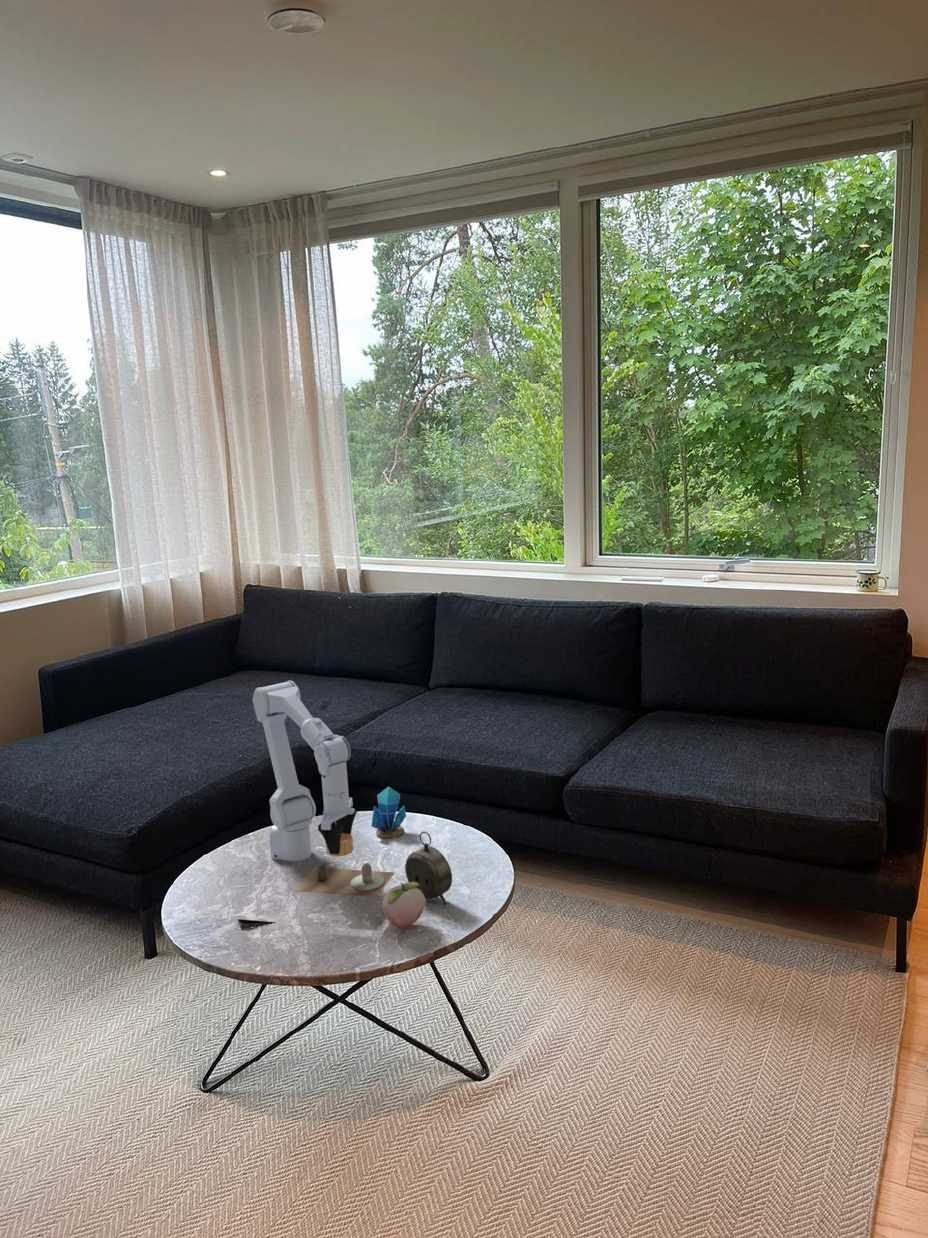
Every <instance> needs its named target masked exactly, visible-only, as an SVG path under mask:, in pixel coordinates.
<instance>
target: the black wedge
mask: <svg viewBox="0 0 928 1238" xmlns="http://www.w3.org/2000/svg"><path fill="white" fill-rule="evenodd" d="M237 921H238V925H240V926H239V929H240V928H241V930H243V929H245V930H248V929H247V928H250V929H252V928H251V927H255V928H257V927H256V926H260V927H263V926H264V925H265V926H268V925H269V924H270V925H274V924H276V921H266V920H254V919H253V920H252V919H240V918H239V919H237ZM273 923H274V924H273ZM270 925H269V926H270Z"/></svg>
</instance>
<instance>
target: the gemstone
mask: <svg viewBox="0 0 928 1238" xmlns="http://www.w3.org/2000/svg"><path fill="white" fill-rule="evenodd" d="M376 796H377V803H378V808H377V807H376V806H375V805H373V810H372V817H371V828H374V829H376V831H375V834H376V836H377V837H378V838H381V839H385V840H387V839H388V840H390V839H397V838H399V837H402V835H404V832H405V829H404V827H403V826H401V825H402V823H403V822H404V820H405V819H406V818H407V815H406V806H405V805H403V806H402V807H401V808H400V809H399V811H398V807H399V804H400V799H401V793H399V792H398V791H396V790H394V789H393V788H391V787H390V786H387V787H386V788H385V789H383V790H381V792H380V793H378V794H377V795H376ZM397 811H398V812H397Z"/></svg>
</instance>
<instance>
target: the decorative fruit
mask: <svg viewBox="0 0 928 1238" xmlns="http://www.w3.org/2000/svg"><path fill="white" fill-rule="evenodd" d="M417 886H420V885H419V884H418V883H416V882H406V883H404V882H402V883H401V884H400V885H396V886H394V887H392V888H391V889H390V890H389V891H387V893H385V895H384V896H383V899H382V906H381V907H382V911H383V914H384V916H385V918H386V919H387V921H388V922H389V923H390V924H392V926H395V927H397V928H402V929H407V928H410V927H411V926H412V925H414V924H415V923H416V922H418V920H419V919H420V917H421V915H422V914H423V912H424V910H425V907H426V899H425V896H424V894H423V893H422V891H421V890H420V889H418V888H417Z"/></svg>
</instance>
